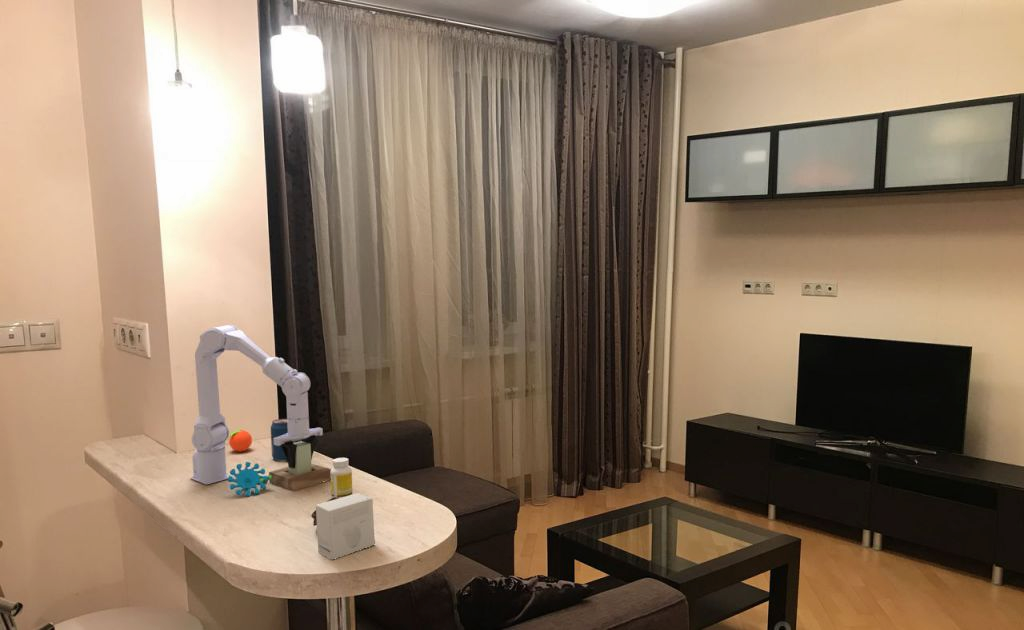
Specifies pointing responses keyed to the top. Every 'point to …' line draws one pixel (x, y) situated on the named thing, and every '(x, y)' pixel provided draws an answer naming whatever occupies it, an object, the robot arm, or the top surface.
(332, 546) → the skincare box
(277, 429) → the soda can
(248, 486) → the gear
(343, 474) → the supplement bottle
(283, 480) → the walnut collar
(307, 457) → the sage peg
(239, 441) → the clementine
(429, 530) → the top surface
